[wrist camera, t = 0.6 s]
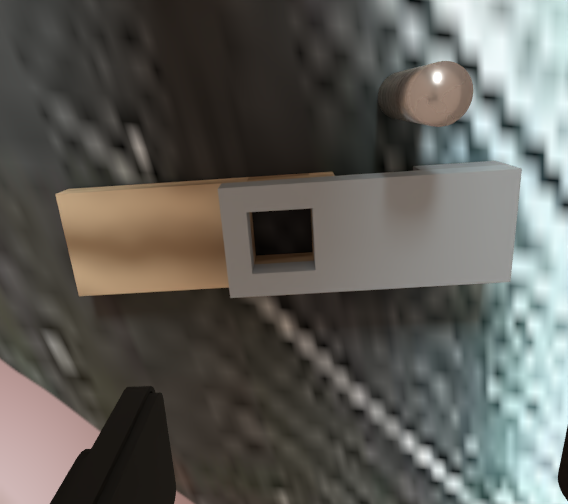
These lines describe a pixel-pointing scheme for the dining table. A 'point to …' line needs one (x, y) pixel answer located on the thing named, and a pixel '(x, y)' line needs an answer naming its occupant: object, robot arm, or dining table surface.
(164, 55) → the dining table surface
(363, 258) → the link
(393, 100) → the pin
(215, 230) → the link
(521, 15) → the dining table surface
